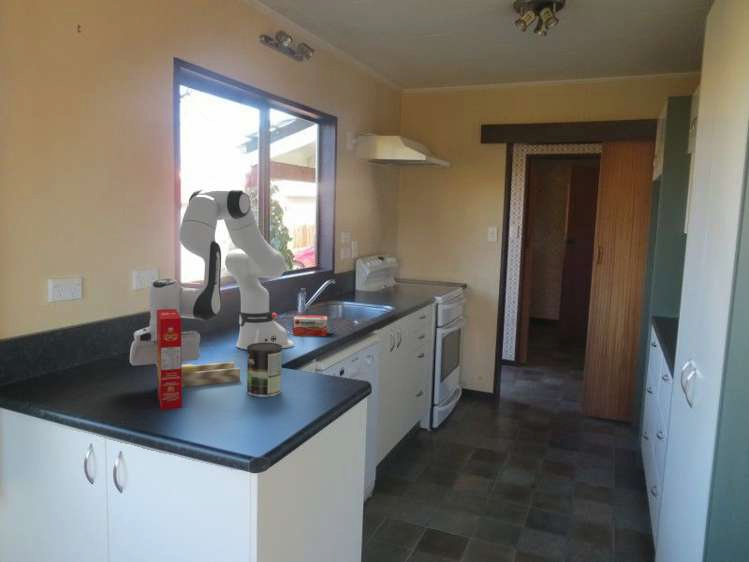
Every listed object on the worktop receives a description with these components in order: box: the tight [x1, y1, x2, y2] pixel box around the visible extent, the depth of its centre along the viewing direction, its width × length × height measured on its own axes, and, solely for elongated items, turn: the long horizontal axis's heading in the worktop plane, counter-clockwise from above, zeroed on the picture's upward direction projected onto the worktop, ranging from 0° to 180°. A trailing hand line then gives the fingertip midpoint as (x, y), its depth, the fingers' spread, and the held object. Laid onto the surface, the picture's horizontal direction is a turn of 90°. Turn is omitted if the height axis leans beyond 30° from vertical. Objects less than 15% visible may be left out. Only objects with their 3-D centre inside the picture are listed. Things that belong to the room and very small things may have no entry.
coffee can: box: [246, 343, 283, 398], centre depth 171 cm, size 10×10×14 cm
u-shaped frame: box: [182, 361, 241, 388], centre depth 181 cm, size 20×9×5 cm, turn 117°
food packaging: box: [156, 309, 183, 411], centre depth 160 cm, size 15×5×25 cm, turn 24°
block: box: [182, 363, 195, 373], centre depth 179 cm, size 5×5×5 cm
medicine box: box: [292, 314, 329, 337], centre depth 255 cm, size 15×8×8 cm, turn 93°
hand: (165, 376), depth 176 cm, fingers closed
